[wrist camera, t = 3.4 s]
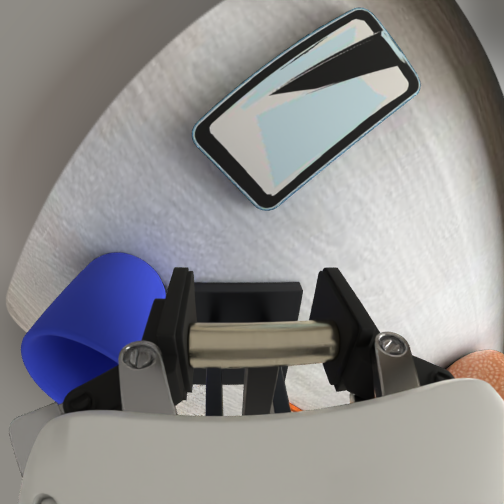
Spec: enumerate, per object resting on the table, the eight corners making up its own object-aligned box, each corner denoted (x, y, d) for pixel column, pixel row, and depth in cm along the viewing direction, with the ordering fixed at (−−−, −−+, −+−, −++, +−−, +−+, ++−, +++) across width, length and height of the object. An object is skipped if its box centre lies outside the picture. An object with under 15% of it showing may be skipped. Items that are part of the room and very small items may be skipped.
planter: (503, 307, 28) (572, 388, 11) (485, 372, 37) (527, 436, 20) (394, 385, 31) (447, 500, 14) (402, 428, 40) (434, 504, 23)
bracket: (180, 282, 21) (152, 442, 9) (299, 282, 21) (358, 429, 10) (192, 375, 25) (187, 496, 14) (282, 373, 26) (308, 489, 15)
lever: (190, 305, 10) (183, 355, 8) (327, 303, 10) (349, 348, 8) (209, 446, 15) (210, 477, 13) (284, 443, 16) (289, 472, 13)
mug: (56, 313, 21) (11, 393, 12) (109, 215, 18) (33, 298, 9) (126, 359, 24) (104, 447, 15) (199, 282, 21) (187, 395, 12)
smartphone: (183, 133, 15) (363, 2, 11) (186, 132, 16) (357, 6, 12) (265, 217, 18) (425, 88, 14) (264, 212, 19) (418, 88, 15)
